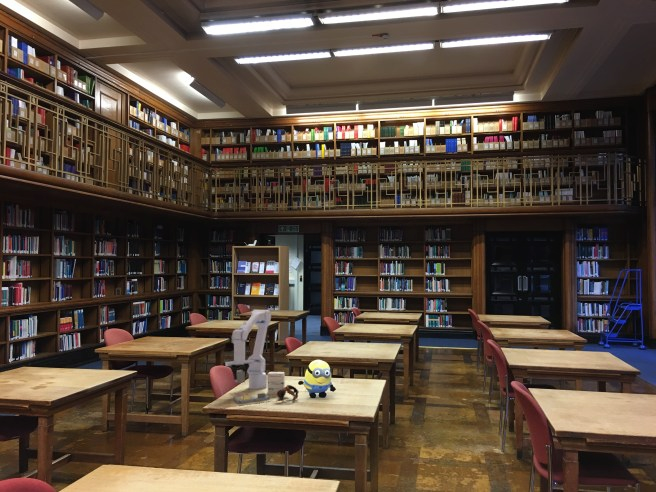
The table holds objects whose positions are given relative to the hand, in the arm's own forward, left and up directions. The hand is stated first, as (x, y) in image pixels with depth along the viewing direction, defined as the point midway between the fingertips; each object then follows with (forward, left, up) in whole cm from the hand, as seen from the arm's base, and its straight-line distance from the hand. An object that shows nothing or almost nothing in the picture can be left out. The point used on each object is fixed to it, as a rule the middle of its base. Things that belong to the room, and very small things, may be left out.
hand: (239, 379), depth 260 cm
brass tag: (+1, +14, -7) cm, 16 cm away
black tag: (-7, +14, -7) cm, 17 cm away
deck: (0, -2, -10) cm, 10 cm away
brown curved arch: (-20, +16, -10) cm, 27 cm away
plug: (0, 0, -1) cm, 1 cm away
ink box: (-19, +4, -10) cm, 22 cm away
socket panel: (-3, +11, -10) cm, 15 cm away
